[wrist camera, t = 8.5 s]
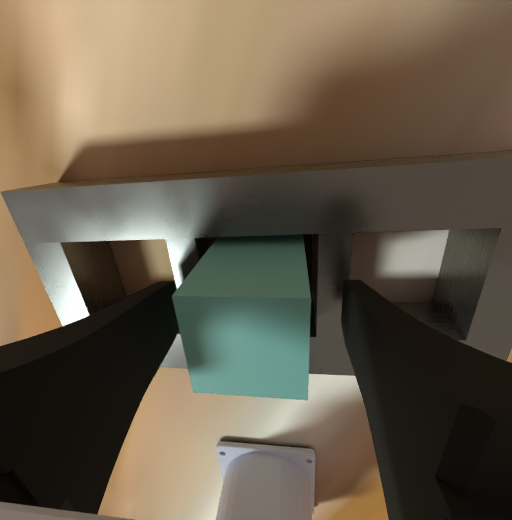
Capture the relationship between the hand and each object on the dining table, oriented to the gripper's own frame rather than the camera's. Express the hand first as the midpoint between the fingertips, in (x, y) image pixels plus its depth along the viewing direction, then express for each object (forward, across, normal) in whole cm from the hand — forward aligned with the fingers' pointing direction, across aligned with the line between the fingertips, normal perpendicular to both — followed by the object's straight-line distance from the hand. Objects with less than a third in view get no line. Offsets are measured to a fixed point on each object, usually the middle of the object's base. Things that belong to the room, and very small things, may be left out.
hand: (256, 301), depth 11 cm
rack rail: (+4, 0, 0) cm, 4 cm away
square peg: (+4, 0, 0) cm, 4 cm away
